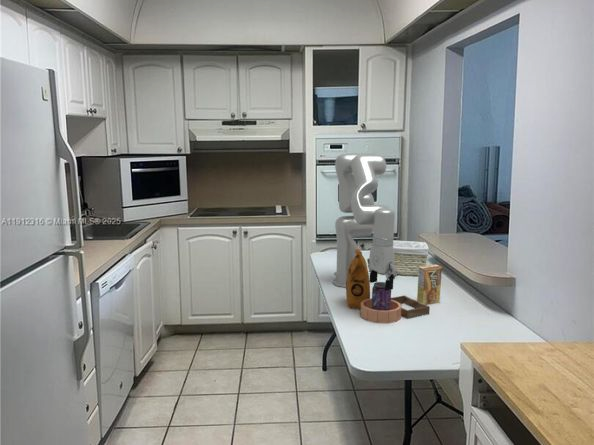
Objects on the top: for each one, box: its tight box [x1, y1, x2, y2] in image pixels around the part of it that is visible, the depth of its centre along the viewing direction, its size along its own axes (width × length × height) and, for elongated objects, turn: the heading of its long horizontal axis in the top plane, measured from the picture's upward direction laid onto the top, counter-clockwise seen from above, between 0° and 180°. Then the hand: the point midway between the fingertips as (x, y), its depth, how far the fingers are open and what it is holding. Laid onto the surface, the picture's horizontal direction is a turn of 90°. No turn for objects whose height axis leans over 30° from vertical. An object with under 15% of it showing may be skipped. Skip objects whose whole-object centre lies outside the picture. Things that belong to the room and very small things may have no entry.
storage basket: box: [393, 239, 430, 277], centre depth 249 cm, size 24×16×15 cm
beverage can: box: [371, 281, 392, 311], centre depth 188 cm, size 7×7×12 cm
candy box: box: [416, 264, 443, 305], centre depth 203 cm, size 9×4×15 cm, turn 116°
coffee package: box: [345, 248, 371, 310], centre depth 200 cm, size 10×12×22 cm
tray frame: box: [391, 294, 431, 320], centre depth 195 cm, size 15×11×3 cm
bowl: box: [359, 297, 403, 324], centre depth 189 cm, size 15×15×4 cm
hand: (381, 285), depth 188 cm, fingers open, 9 cm apart
